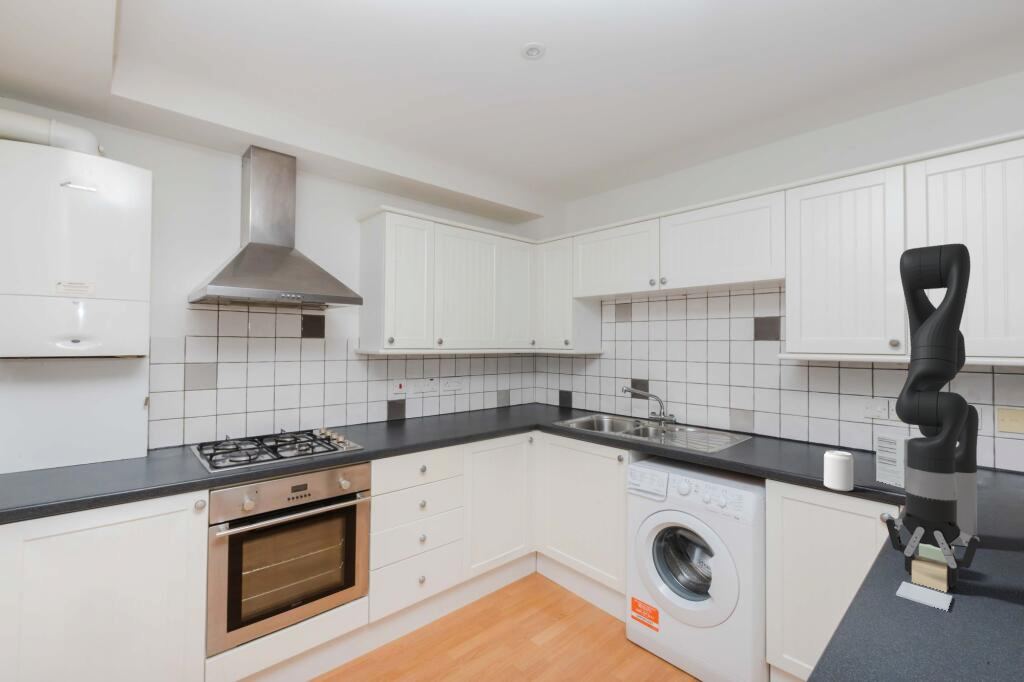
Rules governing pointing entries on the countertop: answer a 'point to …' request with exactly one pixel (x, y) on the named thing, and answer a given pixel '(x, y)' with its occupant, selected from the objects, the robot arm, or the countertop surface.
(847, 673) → the countertop surface
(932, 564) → the maple block
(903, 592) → the white tile
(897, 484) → the supplement box
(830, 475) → the beverage can
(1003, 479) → the countertop surface
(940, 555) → the sage block
